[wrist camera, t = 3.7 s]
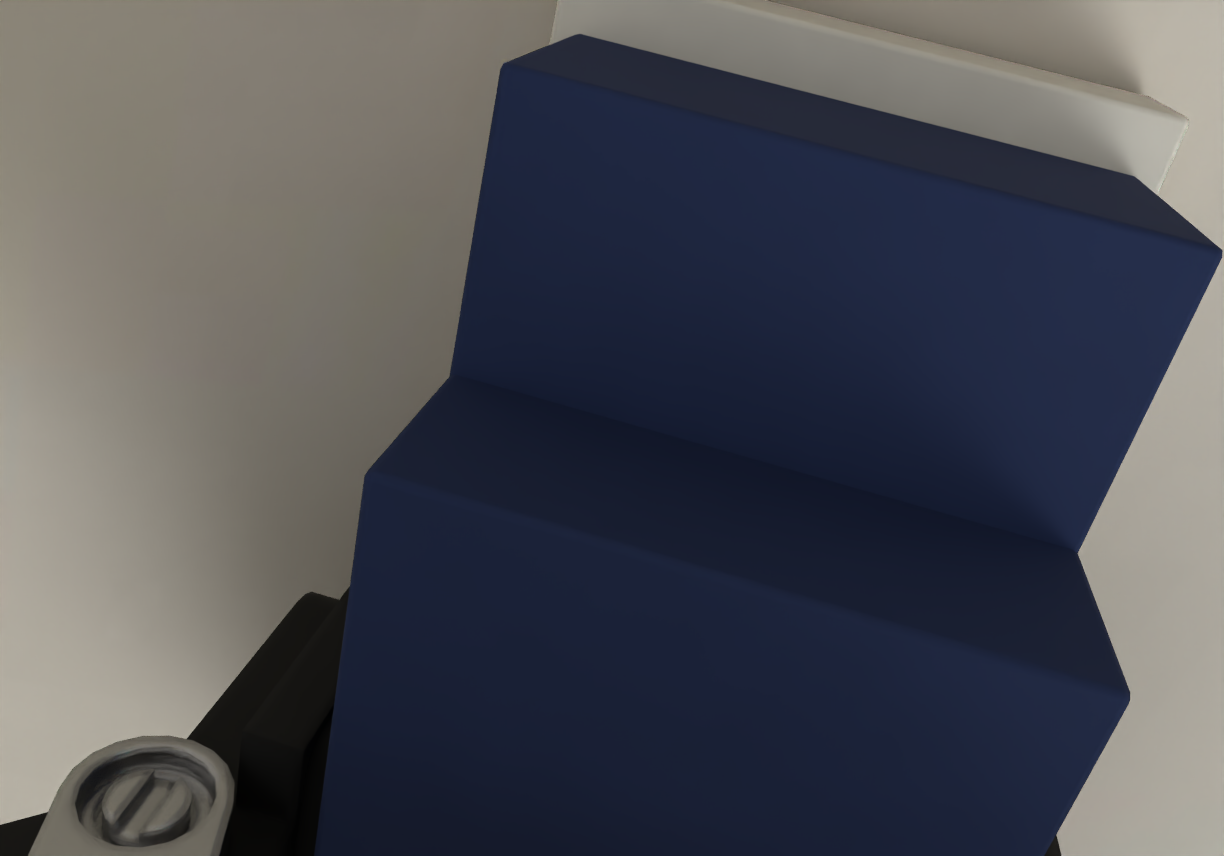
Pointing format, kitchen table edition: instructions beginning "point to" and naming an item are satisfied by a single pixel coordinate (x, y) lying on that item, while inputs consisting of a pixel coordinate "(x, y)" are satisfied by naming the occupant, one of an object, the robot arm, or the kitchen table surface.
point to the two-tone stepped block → (764, 453)
